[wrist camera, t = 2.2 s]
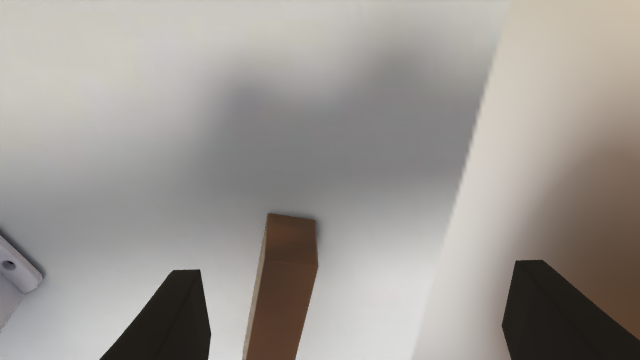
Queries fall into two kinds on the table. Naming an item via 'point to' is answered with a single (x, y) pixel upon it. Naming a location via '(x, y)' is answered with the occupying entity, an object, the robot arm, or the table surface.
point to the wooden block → (282, 288)
